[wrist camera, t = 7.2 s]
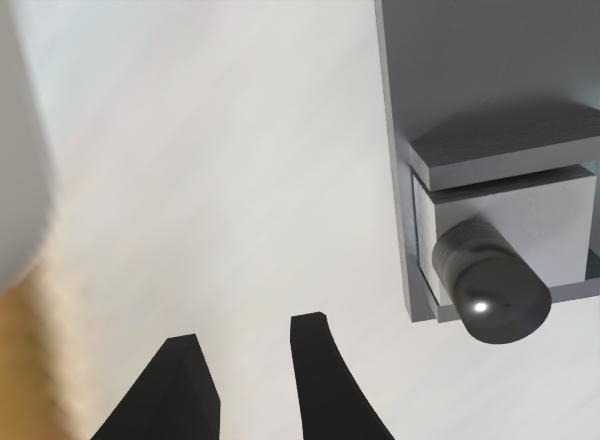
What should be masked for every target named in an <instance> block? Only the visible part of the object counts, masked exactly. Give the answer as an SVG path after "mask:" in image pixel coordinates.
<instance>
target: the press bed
mask: <svg viewBox="0 0 600 440" xmlns="http://www.w3.org/2000/svg"><path fill="white" fill-rule="evenodd" d="M374 2H375V12H376V22H377V32H378V42H379V52H380V62H381V71H382V81H383V91H384V101H385V111H386V121H387V131H388V140H389V150H390V160H391V170H392V180H393V190H394V200H395V210H396V219H397V229H398V239H399V249H400V259H401V269H402V279H403V288H404V298H405V306H406V309H407V311H408V314H409V316H410V319H411V322H412V323H413V322H419V321H425V320H431V319H437V321H438V323H442V322H448V321H453V320H459V319H461V318H460V316H459V314H458V312H457V311H456V309H455V307H454V305H453V304H451V305H445V306H440V305H439V303H438V301H437V299H436V297H435V295H434V293H433V291H432V289H431V287H430V285H429V283H428V281H427V279H426V277H425V275H424V273H423V271H422V269H421V267H420V258H419V245H418V232H417V220H416V207H415V194H414V182H413V174H418V175H419V177H420V178H421V179H422V181H423V182H424V184H425V185H426V186H427V188H428V189H429V191H435V190H441V189H446V188H451V187H457V186H462V185H467V184H473V183H478V182H484V181H489V180H494V179H500V178H505V177H511V176H516V175H521V174H527V173H532V172H538V171H543V170H548V169H554V168H559V167H565V166H570V165H575V164H579V165H581V166H582V167H584V168H586V169H587V170H589V171H591V172H592V173H594V174H595V175H597V178H596V187H595V195H594V204H593V212H592V221H591V229H590V238H589V247H588V255H587V264H586V272H585V281H583V282H577V283H572V284H566V285H560V286H554V287H549V288H548V289H549V291H550V293H551V298H552V303H558V302H564V301H569V300H575V299H581V298H587V297H593V296H598V295H600V0H374Z"/></svg>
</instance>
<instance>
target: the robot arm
mask: <svg viewBox="0 0 600 440" xmlns="http://www.w3.org/2000/svg"><path fill="white" fill-rule="evenodd" d="M290 344H291V351H292V358H293V365H294V372H295V378H296V385H297V392H298V398H299V405H300V412H301V418H302V428H303V439H304V440H395V439H394V437H393V436H392V435H391V433H390V432H389V431H388V429H387V428H386V427H385V425H384V424H383V422H382V421H381V419H380V418H379V417H378V415H377V414H376V412H375V411H374V409H373V408H372V406H371V405H370V403H369V402H368V400H367V399H366V397H365V396H364V394H363V393H362V391H361V389H360V388H359V386H358V384H357V383H356V381H355V379H354V378H353V376H352V374H351V373H350V371H349V369H348V367H347V366H346V364H345V362H344V360H343V358H342V356H341V354H340V352H339V350H338V348H337V346H336V344H335V342H334V339H333V337H332V334H331V332H330V329H329V326H328V322H327V317H326V315H325V314H323V313H322V312H315V313H309V314H304V315H298V316H292V317H291V327H290ZM220 402H221V401H220V398H219V396H218V393H217V390H216V388H215V385H214V382H213V380H212V377H211V374H210V372H209V369H208V366H207V364H206V361H205V358H204V356H203V353H202V350H201V348H200V345H199V342H198V340H197V337H196V334H190V335H184V336H178V337H173V338H167V340H166V341H165V342H164V344H163V345H162V346H161V347H160V349H159V350H158V351H157V353H156V354H155V356H154V357H153V358H152V360H151V361H150V362H149V364H148V365H147V366H146V368H145V369H144V370H143V372H142V373H141V375H140V376H139V377H138V379H137V380H136V381H135V383H134V384H133V385H132V387H131V388H130V389H129V391H128V392H127V394H126V395H125V396H124V397H123V399H122V400H121V401H120V403H119V404H118V405H117V407H116V408H115V409H114V411H113V412H112V413H111V414H110V416H109V417H108V418H107V420H106V421H105V422H104V424H103V425H102V426H101V427H100V428H99V430H98V431H97V432H96V433H95V435H94V436H93V437H92V438H91V439H90V440H219V433H220Z"/></svg>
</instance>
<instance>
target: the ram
mask: <svg viewBox="0 0 600 440" xmlns="http://www.w3.org/2000/svg"><path fill="white" fill-rule="evenodd" d="M596 178H597V175H595V174H594V173H592V172H591V171H589V170H587V169H586V168H584V167H582V166H581V165H579V164H575V165H570V166H565V167H559V168H554V169H548V170H543V171H538V172H532V173H527V174H521V175H516V176H511V177H505V178H500V179H494V180H489V181H484V182H478V183H473V184H467V185H462V186H457V187H451V188H446V189H441V190H435V191H429V189H428V188H427V186H426V185H425V184H424V182H423V181H422V179H421V178H420V177H419V175H418V174H413V182H414V194H415V207H416V220H417V232H418V245H419V258H420V267H421V269H422V271H423V273H424V275H425V277H426V279H427V281H428V283H429V285H430V287H431V289H432V291H433V293H434V295H435V297H436V299H437V301H438V303H439V305H440V306H445V305H451V304H453V305H454V307H455V309H456V311H457V312H458V314H459V316H460V318H461V320H462V322H463V324H464V325H465V327H466V329H467V331H468V332H469V333H470V334H471V335H472V336H473V337H474V338H475V339H477V340H479V341H481V342H484V343H489V344H507V343H511V342H515V341H518V340H520V339H523V338H524V337H526V336H528V335H530V334H531V333H533V332H534V331H535V330H536V329H538V328H539V327H540V326H541V325H542V323H543V322H544V321H545V319H546V318H547V316H548V314H549V312H550V309H551V304H552V298H551V293H550V291H549V289H548V288H549V287H554V286H560V285H566V284H572V283H577V282H583V281H585V272H586V264H587V255H588V247H589V238H590V229H591V221H592V212H593V204H594V195H595V187H596Z"/></svg>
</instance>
